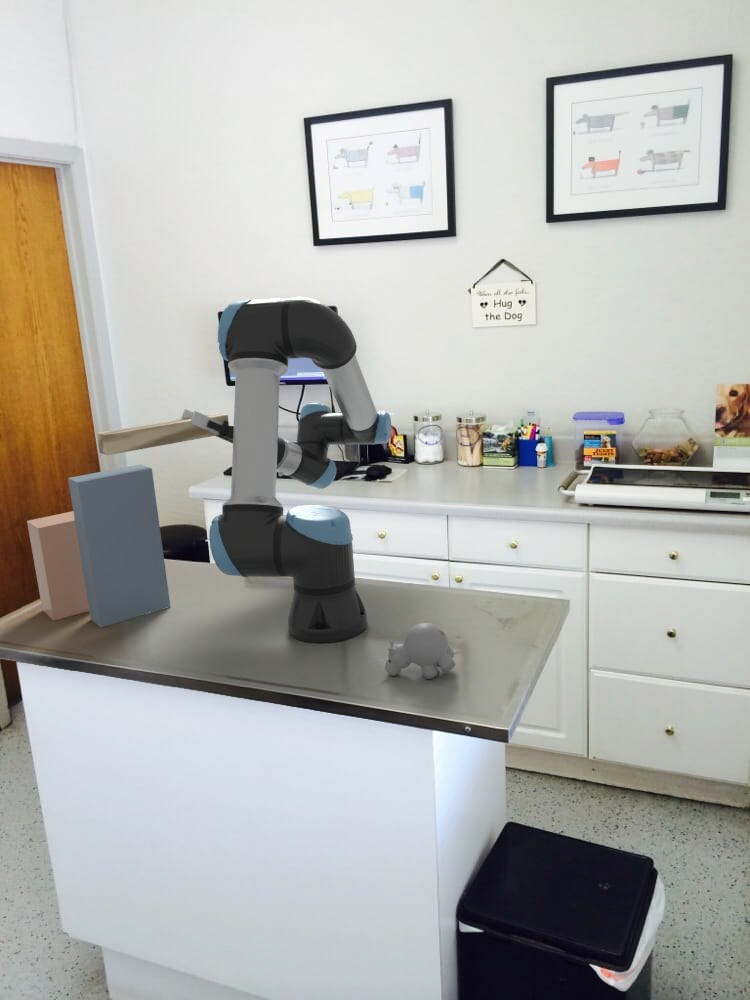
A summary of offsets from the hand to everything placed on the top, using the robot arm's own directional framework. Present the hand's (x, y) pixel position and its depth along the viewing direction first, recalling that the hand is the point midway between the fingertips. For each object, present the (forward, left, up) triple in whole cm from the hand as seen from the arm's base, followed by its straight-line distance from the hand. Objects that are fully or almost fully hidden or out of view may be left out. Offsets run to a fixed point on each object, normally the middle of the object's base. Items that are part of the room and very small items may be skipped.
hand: (188, 416), depth 180 cm
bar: (0, +5, -5) cm, 7 cm away
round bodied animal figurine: (-63, -8, -39) cm, 75 cm away
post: (0, +18, -39) cm, 43 cm away
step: (+12, +26, -39) cm, 48 cm away
